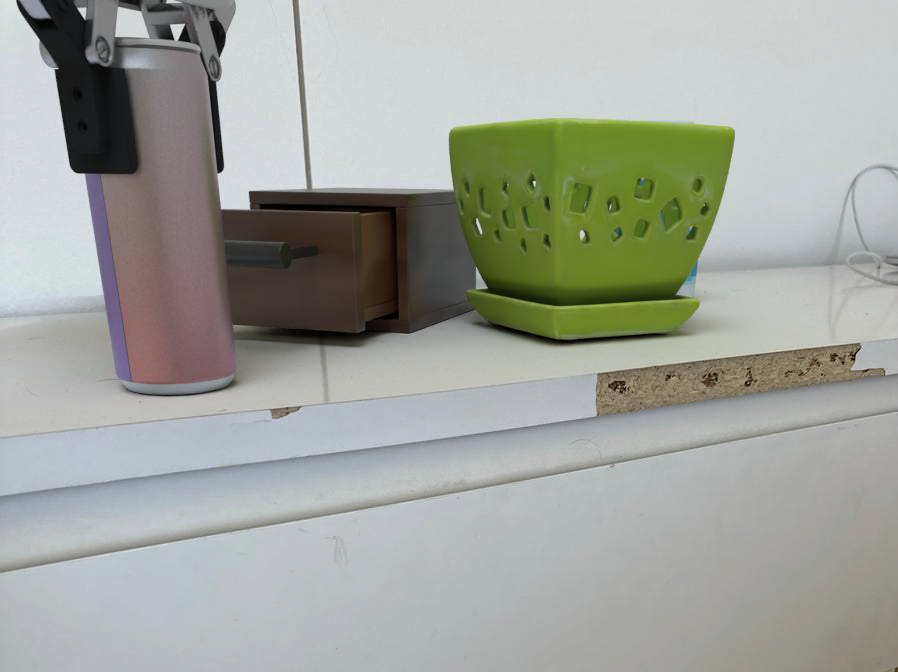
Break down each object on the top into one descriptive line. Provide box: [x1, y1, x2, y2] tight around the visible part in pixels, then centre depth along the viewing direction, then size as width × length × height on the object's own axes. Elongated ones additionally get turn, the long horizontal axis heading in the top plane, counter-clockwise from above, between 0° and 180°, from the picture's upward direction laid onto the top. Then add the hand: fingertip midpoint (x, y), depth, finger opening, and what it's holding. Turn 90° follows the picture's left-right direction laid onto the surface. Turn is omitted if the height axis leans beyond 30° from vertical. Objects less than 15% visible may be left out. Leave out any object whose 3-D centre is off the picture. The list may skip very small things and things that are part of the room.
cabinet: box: [248, 187, 477, 334], centre depth 71 cm, size 14×12×9 cm
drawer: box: [221, 206, 399, 334], centre depth 63 cm, size 17×10×7 cm, turn 161°
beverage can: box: [84, 36, 238, 396], centre depth 47 cm, size 6×6×15 cm
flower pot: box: [448, 117, 736, 341], centre depth 65 cm, size 14×14×13 cm
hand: (151, 169), depth 45 cm, fingers closed on beverage can, 6 cm apart
